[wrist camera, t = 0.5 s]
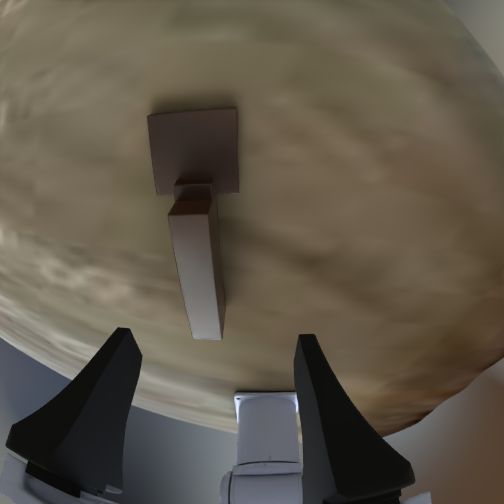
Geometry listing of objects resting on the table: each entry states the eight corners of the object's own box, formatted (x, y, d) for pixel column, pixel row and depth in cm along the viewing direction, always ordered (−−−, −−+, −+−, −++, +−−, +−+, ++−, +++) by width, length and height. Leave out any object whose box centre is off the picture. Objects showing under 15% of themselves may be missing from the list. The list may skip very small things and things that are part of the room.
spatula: (243, 309, 23) (241, 340, 20) (182, 307, 23) (174, 338, 20) (237, 107, 14) (232, 113, 11) (150, 114, 14) (128, 123, 12)
